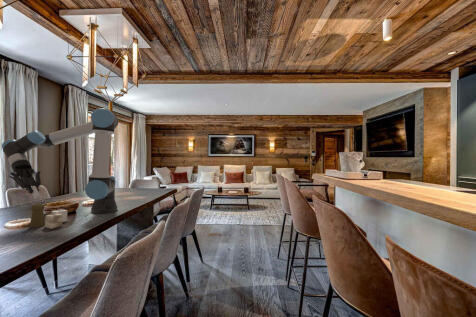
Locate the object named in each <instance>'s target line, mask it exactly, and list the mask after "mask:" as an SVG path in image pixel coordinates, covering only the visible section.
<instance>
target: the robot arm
mask: <svg viewBox="0 0 476 317" xmlns="http://www.w3.org/2000/svg"><path fill="white" fill-rule="evenodd" d="M118 125H119V118H118V116H117V115H116V114H114V113H113V112H112V111H111V110H110V109H107V108H104V107H103V108H102V107H100V108H97V109H95V110H93V111H92V112H91V115H90V121H88V122H85V123H81V124H77V125H75V126H74V125H73V126H71V127H67V128H64V129H61V130H57V131H53V132H50V133H48V134H47V133H46V134H43V133H42V132H40V131H39V130H33V131H31V132H28V133H27V134H26V135H23V136H21V137H19V139H9V140H5V141H3V142H2V143H1V149H2V153H3V154H4V155H5V157H6V159H7V160H8V163H9V165H10V168H11V170H12V171H11V172H10V173H9V175H8V177H9V178H11V179H12V180H14V182H15V183H17V185H18V186H19V187H20V188H21V189H23V190H24V189H25V191H28V193H29V194H31V195H32V197H33V199H34V200H38V199H39V197H40V196H41V194H40V189H39V188H40V186H41V185H42V180H41V176H40V174H41V173H42V172H41V171H40V170H38V171H35V169H33V166H32V164H31V163H30V161H29V159H28V157H27V154H26V153H28V152H29V151H31V150H32V149H37V148H39V149H50V148H52V147H54V146H56V145H59V144H63V143H66V142H70V141H73V140H76V139H80V138H83V137H86V136H88V135H93V134H94V142H93V144H94V145H93V154H92V155H93V156H92V165H91V166H92V167H91V173H90V174H89V175H88V179H87V183H86V185H85V188H84V193H85V195H86V197H88V198H89V199H91V200H93V203H92V205H91V208H90V213H92V214H108V213H109V212H110V213H114V212H116V210H117V211H118V204H117V201H116V199H115V197H116V177H115V176H111V175H110V174H109V170H110V158H111V144H112V135H113V134H115V129H116V128H117V126H118ZM33 175H34V176H33Z"/></svg>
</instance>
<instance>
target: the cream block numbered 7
mask: <svg viewBox="0 0 476 317" xmlns="http://www.w3.org/2000/svg"><path fill="white" fill-rule="evenodd" d="M56 213H57V214H63V217H62V223H65V222H68V209H67V210H66V209H57V210H56V209H55V210H52V211H51V214H56Z"/></svg>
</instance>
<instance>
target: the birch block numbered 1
mask: <svg viewBox="0 0 476 317" xmlns="http://www.w3.org/2000/svg"><path fill="white" fill-rule="evenodd" d="M62 217H63V214H57V213H56V214H52V213H51V214H47V215H46V214H44V220H45V225H44V228H47V229H56V228H60V227H63V222H62Z"/></svg>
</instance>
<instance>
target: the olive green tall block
mask: <svg viewBox="0 0 476 317" xmlns="http://www.w3.org/2000/svg"><path fill="white" fill-rule="evenodd" d="M44 210H45V204H43V203H35V204H33V205H32V206H30V211H31V216H30V222H29V228H40V227H41V228H42V227H45V214H44Z"/></svg>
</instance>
